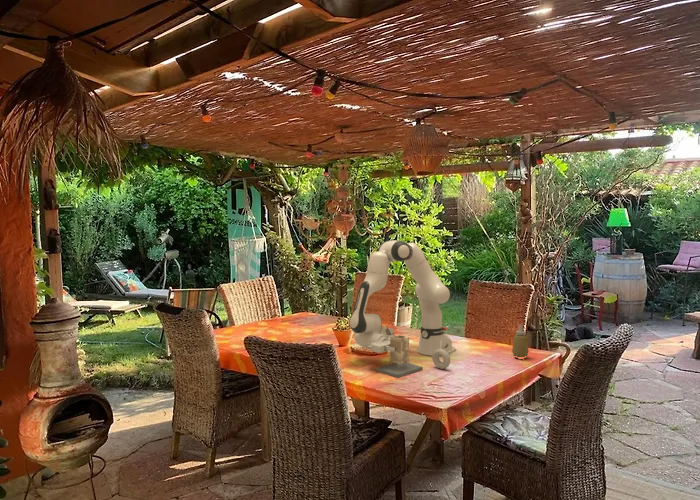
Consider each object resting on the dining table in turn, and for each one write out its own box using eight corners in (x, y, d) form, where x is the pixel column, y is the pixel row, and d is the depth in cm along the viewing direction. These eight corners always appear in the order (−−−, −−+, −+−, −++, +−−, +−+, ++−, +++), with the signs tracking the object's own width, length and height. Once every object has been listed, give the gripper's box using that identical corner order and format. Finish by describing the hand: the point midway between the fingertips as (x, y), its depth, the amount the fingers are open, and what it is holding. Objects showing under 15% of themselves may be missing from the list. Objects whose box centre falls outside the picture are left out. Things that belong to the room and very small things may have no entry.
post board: (401, 363, 261) (401, 344, 260) (422, 369, 250) (422, 350, 250) (376, 371, 249) (376, 351, 248) (397, 377, 238) (397, 357, 238)
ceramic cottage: (371, 345, 296) (373, 320, 295) (368, 340, 312) (369, 315, 312) (398, 346, 297) (399, 321, 297) (393, 341, 313) (394, 316, 313)
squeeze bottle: (527, 356, 272) (528, 323, 271) (528, 361, 265) (529, 326, 263) (511, 355, 275) (512, 322, 273) (512, 359, 267) (513, 325, 266)
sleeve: (398, 358, 254) (399, 334, 253) (408, 361, 249) (408, 337, 248) (389, 361, 249) (390, 336, 248) (399, 363, 244) (400, 339, 244)
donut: (430, 367, 255) (431, 347, 254) (435, 365, 257) (435, 346, 256) (447, 371, 247) (447, 351, 246) (451, 370, 250) (451, 350, 249)
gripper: (365, 340, 251) (385, 345, 241) (394, 333, 265) (414, 338, 254) (365, 352, 251) (385, 358, 241) (393, 345, 265) (414, 350, 255)
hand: (400, 348), depth 248 cm, fingers closed on sleeve, 6 cm apart
